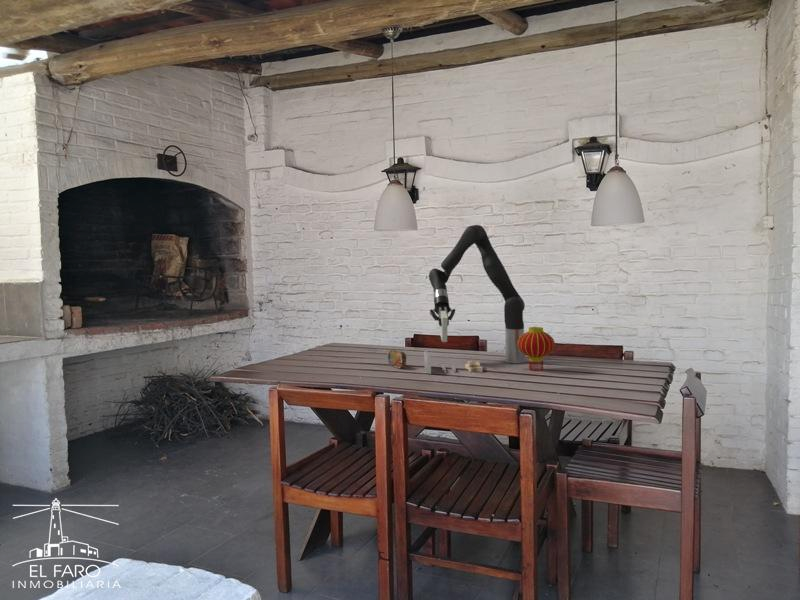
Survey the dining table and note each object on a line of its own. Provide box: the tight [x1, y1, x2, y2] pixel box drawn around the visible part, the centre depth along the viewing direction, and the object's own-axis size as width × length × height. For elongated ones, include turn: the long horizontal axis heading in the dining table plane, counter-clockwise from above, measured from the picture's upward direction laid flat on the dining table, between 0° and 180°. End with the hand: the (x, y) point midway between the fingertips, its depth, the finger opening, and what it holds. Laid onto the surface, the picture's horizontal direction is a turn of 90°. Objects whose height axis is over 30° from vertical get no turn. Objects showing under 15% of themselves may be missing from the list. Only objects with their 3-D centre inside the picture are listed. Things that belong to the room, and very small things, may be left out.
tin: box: [387, 349, 407, 369], centre depth 301 cm, size 15×3×8 cm, turn 28°
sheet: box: [439, 311, 448, 343], centre depth 307 cm, size 2×10×13 cm, turn 2°
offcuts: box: [464, 360, 484, 373], centre depth 291 cm, size 6×14×4 cm, turn 2°
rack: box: [423, 350, 457, 375], centre depth 290 cm, size 14×18×8 cm
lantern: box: [517, 326, 556, 372], centre depth 286 cm, size 17×17×30 cm
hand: (444, 325), depth 305 cm, fingers closed on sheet, 2 cm apart
